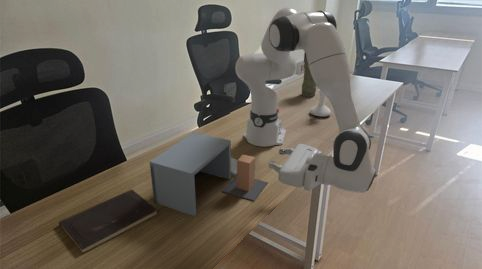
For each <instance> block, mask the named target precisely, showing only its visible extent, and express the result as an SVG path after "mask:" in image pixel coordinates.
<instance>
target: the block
mask: <svg viewBox="0 0 482 269" xmlns="http://www.w3.org/2000/svg"><path fill="white" fill-rule="evenodd" d="M236 160H237V188H239V189H242V190H246V191H249V190H250V189H251V188H252V187H253V185H254V179H255V171H256V170H255V168H256V165H255V164H256V163H255V162H256V157H254V156H251V155H248V154H242V155H241V156H239V158H237V159H236Z"/></svg>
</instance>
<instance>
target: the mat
mask: <svg viewBox="0 0 482 269" xmlns="http://www.w3.org/2000/svg"><path fill="white" fill-rule="evenodd" d="M267 185H268V181H265V180H261V179H257V178H254V185H253V187H252V188H251V189H250V190H249V191H246V190H242V189H239V188H237V175H236V176H233V179H232V180H230V181H229V182H228V184H227V185H226V186H225V187H224V188H223V189H222V190H221V192H222V193H224V194H228V195H231V196H235V197H238V198H241V199H244V200H249V201H252V202H255V201H256V199H257V198H258V197H259V195H260V194H261V193H262V192H263V190H264V189H265V187H266V186H267Z"/></svg>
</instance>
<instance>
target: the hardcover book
mask: <svg viewBox="0 0 482 269" xmlns="http://www.w3.org/2000/svg"><path fill="white" fill-rule="evenodd" d="M157 211H159V209H157V208H156V207H155V206H153V204H151V203H150V202H148V201H147V200H146V199H145V198H143V197H142V196H141V195H140V194H138V193H137V192H136V191H134V190H133V188H132V189H129V190H126V191H124V192H121V193H120V194H118V195H115V196H113V197H111V198H109V199H107V200H104V201H102V202H100V203H97V204H95V205H93V206H90V207H89V208H86V209H83V210H82V211H79V212H77V213H75V214H72V215H70V216H69V217H66V218H63V219H61V220H59V221H58V224H59V226H61V227H62V228H63V230H64V231H65V232H66V234H67V235H68V236H69V237H70V238H71V240H72V241H73V243H74V244H75V245H76V246H77V248H80V249H79V250H80V251H81V253H82V254H84V253H85V252H87V251H89V250H91V249H93V248H94V247H95V248H96V247H97V246H99V245H101V244H103V243H104V242H107V241H108V240H110V239H113V238H114V237H116V236H118V235H119V234H121V233H124V232H125V231H128V230H129V229H131V228H133V227H135V226H137V225H139V224H141V223H143V222H145V221H146V220H149V219H150V218H152V217H155V216H156V215H157V213H158V212H157Z"/></svg>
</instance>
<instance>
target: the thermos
mask: <svg viewBox="0 0 482 269" xmlns="http://www.w3.org/2000/svg"><path fill="white" fill-rule="evenodd" d="M303 69H304V72H303V81H302V85H301V96H302V97H305V98H314V97H315V96H316V92H317V86H316V84H315V82H314V80H313V77H312V75H311V72H310V69H309V65H308V61H307V57H306V53H305V52H304V54H303Z"/></svg>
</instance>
